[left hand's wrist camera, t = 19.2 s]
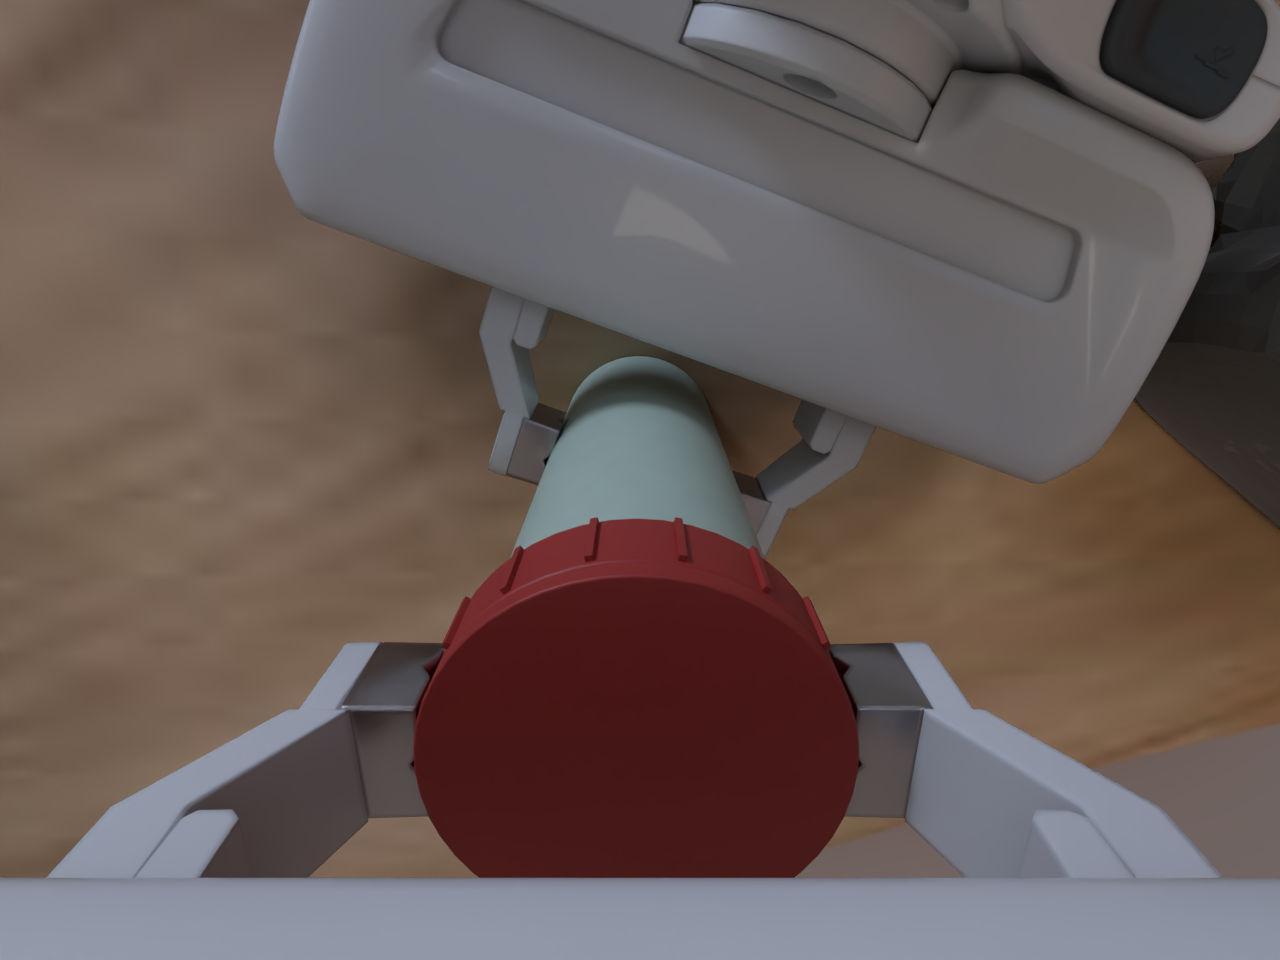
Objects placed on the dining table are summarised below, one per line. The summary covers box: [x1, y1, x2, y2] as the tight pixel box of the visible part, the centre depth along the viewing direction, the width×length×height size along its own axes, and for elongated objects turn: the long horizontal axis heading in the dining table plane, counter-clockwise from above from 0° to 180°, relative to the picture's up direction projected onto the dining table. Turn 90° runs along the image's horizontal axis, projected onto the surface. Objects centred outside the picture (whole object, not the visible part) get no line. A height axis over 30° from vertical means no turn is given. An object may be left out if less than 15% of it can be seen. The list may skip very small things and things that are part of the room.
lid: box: [413, 517, 859, 878], centre depth 10 cm, size 6×6×2 cm
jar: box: [510, 356, 765, 560], centre depth 16 cm, size 5×5×15 cm
